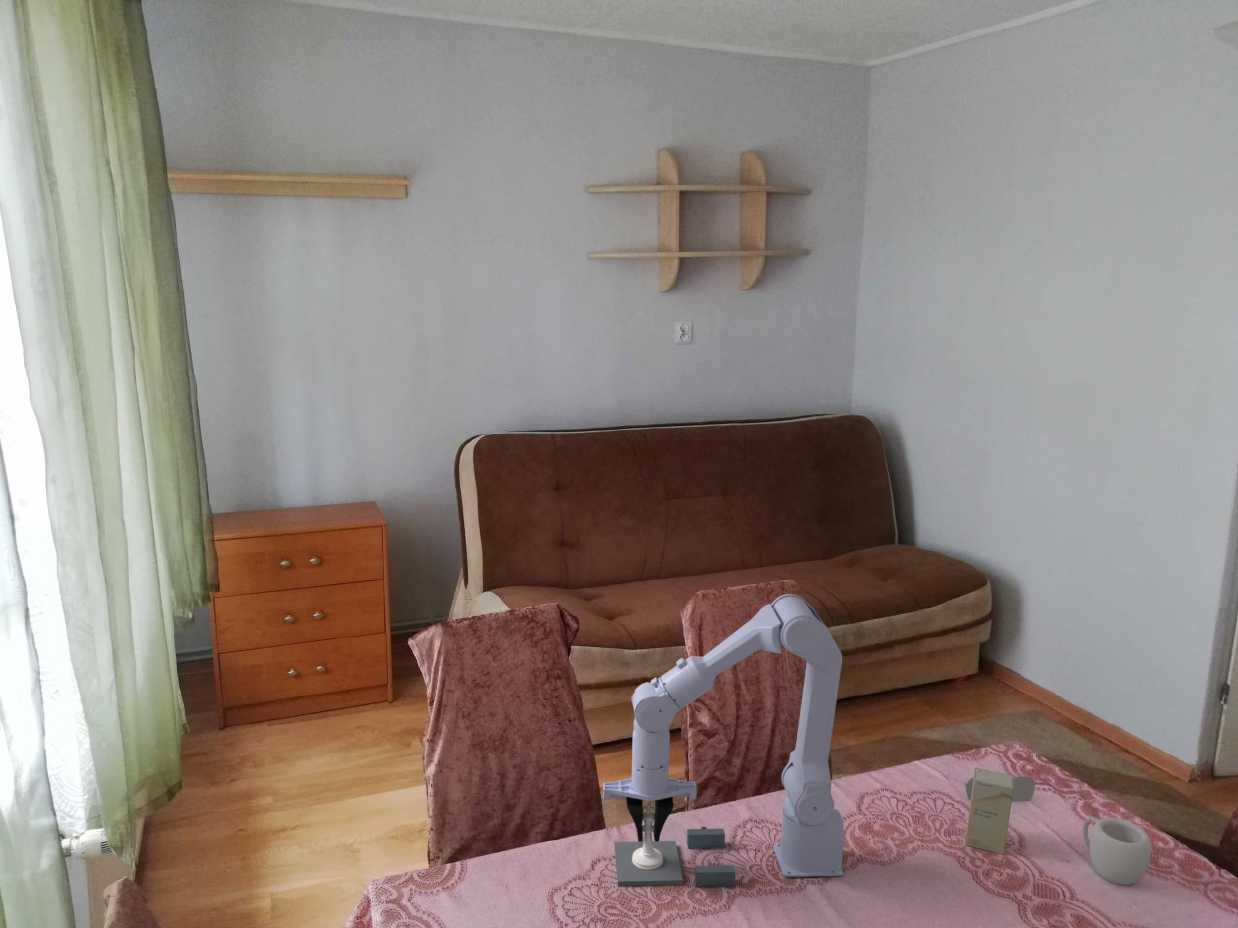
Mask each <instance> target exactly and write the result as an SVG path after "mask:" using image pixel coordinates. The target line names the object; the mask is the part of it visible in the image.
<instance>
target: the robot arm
mask: <svg viewBox="0 0 1238 928" xmlns="http://www.w3.org/2000/svg"><path fill="white" fill-rule="evenodd" d="M781 646H783V647H784V648H785V650H787V651H788V652H790V653H791V654H793V655H795V656H797V657H799V658H802V659H804V660H805V661H806V666H805V667H806V668H805V676H804V680H803V682H804V684H803V690H802V698H801V706H800V714H799V721H798V727H797V728H798V729H797V736H796V744H795V749H794V750H792V751H791V752H790V754H789V760H788V763H787V764H786V766H785V767H784V768H783V771H782V773H781V784H782V787H783V788H784V789H785V791H786V798H785V800H784V801H783V805H782V819H781V820H782V821H781V835H780V843H773V845H772V846H773V847H772V848H773V850H774V853H775V856H776V858H777V862H778V864H779V867H780V871H781V873H782V875H783V877H785V878H793V877H794V878H797V877H800V878H801V877H802V878H804V877H841V876H844V875H843V874H844V873H843V872H844V871H843V869H842V868H843V854H844V842H845V829H844V822H843V817H842V814H841V813H840V811H839V810H838V809H835V801H834V799H833V796H832V792H831V791H832V790H831V789H832V778H831V772H830V768H829V758H830V750H831V741H832V735H833V729H834V721H835V715H836V708H837V707H836V705H837V702H838V701H837V700H838V691H839V687H840V686H839V685H840V680H841V672H842V666H843V654H842V652H841V650H840V648H839V647H838V645H837V643H836V640H835V639H834V638H833V635H832V634H831V632H830V630H829V628H828V627H827V626H826V624H825V623H824V621H823V620H822V618H821V617H820V616H819V614H818V613H817V611H816V609H815V608H814V607H813V606H811V605H810V603H809V602H807V601H806V600H805V599H804V598H802V597H801V596H799V595H797V594H794V593H793V594H792V593H788V594H787V593H786V594H783V595H780V596H779V597H778V596H777V598H776V599H775V600H773V601H772V603H769V604H766V605H764V606H763V607H761V608H760V609H759V610H758V612H757V613H756V614H755V615H754V616H753V617H752V618H751V619H750V620H748V621H747V622H746V623H745V624H744V625H742V626H741V627H740V628H738V629H736V631H735V632H733V633H732V634H731V635H729V636H728V637H727V638H725V639H724V640H723V641H722V642H721V643H719V644H717V645H716V646H715V647H714V648H712V649H711V650H710V651H709V652H708V653H705V655H704V656H698V655H697V656H696V655H690V656H688V657H687V658H686V659H685V658H684V657H681V658H679V659H678V660H677V661H676V662H675V663H676V665H675V666H674V667H672V668H671V669H670V670H668V671H667V672H665V673H664V674H662V675H661V676H660V677H654V678H652V679H651V681H650V682H644V683H641V684H640V685H638V687H636V688H635V690H634V693H633V694H632V696H631V697H630V698H631V699H630V700H631V704H632V707H633V712H634V714H633V715H634V719H633V720H634V721H633V724H632V725H633V731H632V746H631V747H632V749H631V777H629V778H625V779H620V780H616V781H609V782H603V783H602V800H603V801H611V799H623V798H624V799H626V800H625V801H626V808H627V810H628V813H629V814H630V816H631V819H632V821H633V823H634V826H635V828H636V833H637V834H636V835H637V842H643V841H644V832H643V830H642V826H643V822H644V819H643V813H644V810H643V807H644V805H643V802H644V801H648V802H651V801H654V807H655V809H654V814H655V818H654V821H653V826H654V827H655V831H654V832H653V838H654V840H653V841H655V842H656V841H660V837H661V834H662V831H663V827H664V826H665V823H666V821H667V819H668V818H669V816H670V815H671V813H673V810H674V805H675V804H674V798H688V799H689V800H697V792H698V791H697V790H698V789H697V788H698V787H697V784H696V781H691V780H690V781H687V780H682V779H676V778H670V777H669V772H670V771H669V770H670V769H669V768H670V739H671V737H670V735H671V734H670V730H669V729H670V726H671V725H672V723H673V721H674V718H675V715H676V714H677V713H678V712H679V711H681V710H682V709H683V708H685V707H686V706H688V705H689V704H690V703H692V702H694V701H696V700H697V699H698V698H700V697H701V696H702V695H704V694H706V693H707V692H708V691H710V690H711V689H713V686H714V684H715V683H714V682H715V679H716V677H717V676H718V675H719V674H721V673H723V672H725V671H726V670H728V669H730V668H731V667H733V666H734V665H736V664H738V663H739V662H742V661H743V660H744V659H746V658H748V657H750V656H751V655H753V654H754V653H757V652H758V651H765V652H771V653H775V654H782V653H783V652H782V649H781Z"/></svg>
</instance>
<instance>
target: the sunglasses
mask: <svg viewBox="0 0 1238 928" xmlns="http://www.w3.org/2000/svg"><path fill="white" fill-rule="evenodd" d="M1018 774H1019V775H1020V776H1019V775H1018ZM1016 775H1017V776H1016ZM949 776H951V777H953V779H954V780H956V781H957V782H958V783H959V784H961V785H963V786H965V794H966V797H967V799H968V800H969V801H971V793H972V786H973V778H974V777H971V778H969V779H968V780H967V781H966V783H965V782H964V783H963V782H962V781H961V780H959V779H958V778H957V777H954V776H953V775H952V774H951V773H948V774H947V776H946V779H947V780H948V779H949ZM1013 776H1014V789H1013V796H1012V802H1029V801H1030V800H1032V798H1033V796H1034V793H1035V789H1036V785H1037V784H1038V781H1036V780H1034V779H1033V778H1032V777H1031V776H1026V775H1024V774H1023V773H1021V772H1018V771H1017V772H1016V773H1014V775H1013Z"/></svg>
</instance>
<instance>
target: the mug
mask: <svg viewBox="0 0 1238 928" xmlns="http://www.w3.org/2000/svg"><path fill="white" fill-rule="evenodd" d="M1092 822H1094V825H1093V827H1092V831H1091V833H1090V838H1089V825H1090V823H1092ZM1082 836H1083V840H1084V842H1085V844H1086V845H1087V847H1088V848H1089V855H1090V859H1091V863H1092V864H1091V865H1092V867H1093V868H1094V870H1095V871H1096V873H1097V874H1098V875H1099V876H1100V877H1101V878H1102V879H1105V880H1106V881H1107V882H1110V883H1112V884H1116V885H1120V886H1131V885H1134V884H1136V883H1138V882H1139V881H1141V879H1142V877H1144V875H1145V874H1146V871H1147V869H1148V867H1149V864H1150V860H1151V856H1152V842H1151V839H1150V837H1149V834H1148V833H1147V832H1146V830H1144V829H1143V828H1142V827H1140V826H1139V825H1138V824H1135V823H1133V822H1130V821H1128V820H1126V819H1125V820H1124V819H1122V818H1117V817H1116V818H1115V817H1105V818H1101V819H1098V818H1097V817H1094V816H1089V817H1088V818H1087V819H1085V820H1084V823H1083V827H1082Z"/></svg>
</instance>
